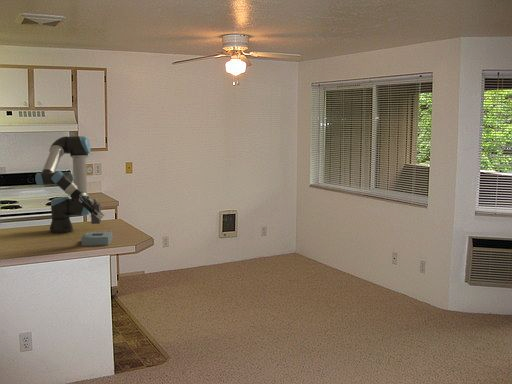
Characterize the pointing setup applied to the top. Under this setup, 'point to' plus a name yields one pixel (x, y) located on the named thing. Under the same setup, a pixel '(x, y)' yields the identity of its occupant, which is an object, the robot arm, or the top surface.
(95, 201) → the gray bottle
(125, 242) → the top surface
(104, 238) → the socket
